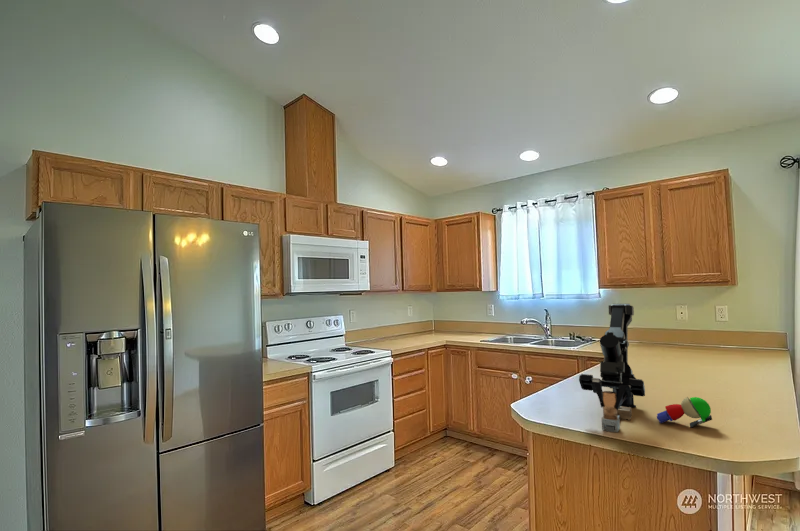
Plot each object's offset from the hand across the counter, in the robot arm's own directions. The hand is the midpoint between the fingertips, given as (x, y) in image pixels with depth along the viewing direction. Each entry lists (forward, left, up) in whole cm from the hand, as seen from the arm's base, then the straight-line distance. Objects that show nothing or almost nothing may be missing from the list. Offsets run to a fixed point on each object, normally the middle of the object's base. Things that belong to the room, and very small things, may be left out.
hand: (609, 407), depth 131 cm
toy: (-26, -5, -7) cm, 27 cm away
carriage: (-1, -1, -7) cm, 7 cm away
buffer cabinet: (-9, -15, -7) cm, 19 cm away
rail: (-4, -6, -7) cm, 10 cm away
